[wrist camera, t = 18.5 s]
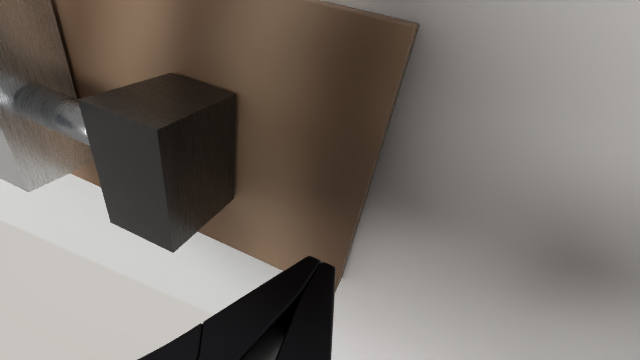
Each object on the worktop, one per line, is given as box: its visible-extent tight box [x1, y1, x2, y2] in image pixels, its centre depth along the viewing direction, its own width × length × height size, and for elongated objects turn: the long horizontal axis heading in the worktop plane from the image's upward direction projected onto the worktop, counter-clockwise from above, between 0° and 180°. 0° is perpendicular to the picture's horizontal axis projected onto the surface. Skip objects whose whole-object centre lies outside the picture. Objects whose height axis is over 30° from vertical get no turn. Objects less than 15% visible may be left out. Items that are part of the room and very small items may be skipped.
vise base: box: [51, 0, 419, 291], centre depth 15 cm, size 28×12×4 cm, turn 80°
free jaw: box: [0, 0, 236, 253], centre depth 13 cm, size 12×8×4 cm, turn 80°
